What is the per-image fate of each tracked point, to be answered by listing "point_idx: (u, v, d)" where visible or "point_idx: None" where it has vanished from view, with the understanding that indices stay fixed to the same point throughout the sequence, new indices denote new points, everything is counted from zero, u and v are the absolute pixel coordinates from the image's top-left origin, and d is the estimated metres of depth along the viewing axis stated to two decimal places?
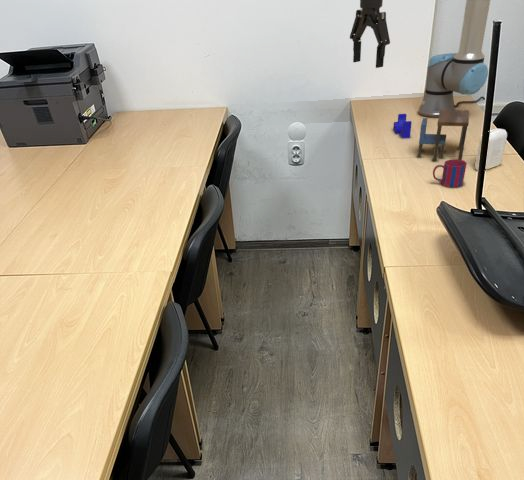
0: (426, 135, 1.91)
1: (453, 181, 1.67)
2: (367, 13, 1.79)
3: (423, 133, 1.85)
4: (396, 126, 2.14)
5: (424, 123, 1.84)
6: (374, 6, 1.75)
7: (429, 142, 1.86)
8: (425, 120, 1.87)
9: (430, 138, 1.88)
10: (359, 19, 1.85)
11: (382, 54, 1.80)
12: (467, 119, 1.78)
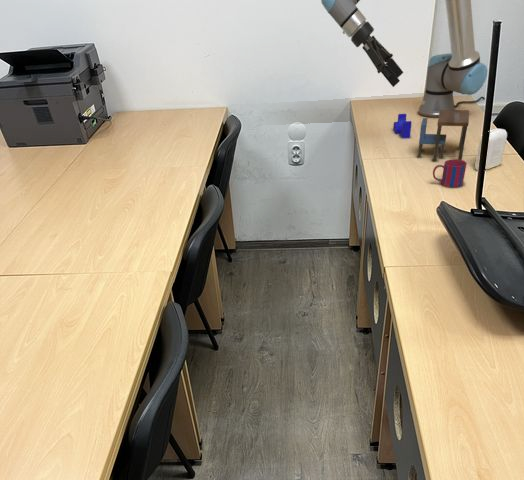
0: (426, 135, 1.91)
1: (453, 181, 1.67)
2: None
3: (423, 133, 1.85)
4: (396, 126, 2.14)
5: (424, 123, 1.84)
6: (360, 42, 1.74)
7: (429, 142, 1.86)
8: (425, 120, 1.87)
9: (430, 138, 1.88)
10: None
11: (387, 75, 1.74)
12: (467, 119, 1.78)
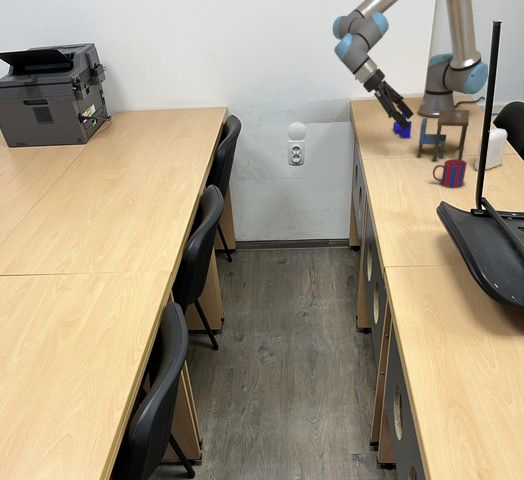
0: (426, 135, 1.91)
1: (453, 181, 1.67)
2: None
3: (423, 133, 1.85)
4: (396, 126, 2.14)
5: (424, 123, 1.84)
6: (371, 88, 1.82)
7: (429, 142, 1.86)
8: (425, 120, 1.87)
9: (430, 138, 1.88)
10: None
11: (398, 120, 1.81)
12: (467, 119, 1.78)
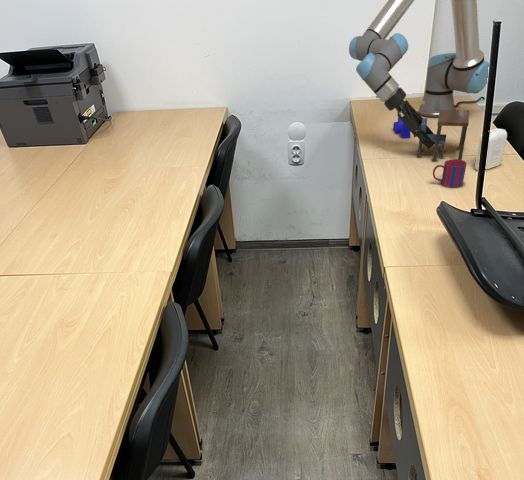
0: None
1: (453, 181, 1.67)
2: None
3: None
4: (396, 126, 2.14)
5: (424, 123, 1.84)
6: (393, 107, 1.83)
7: None
8: (425, 120, 1.87)
9: (430, 138, 1.88)
10: None
11: (423, 139, 1.85)
12: (467, 119, 1.78)
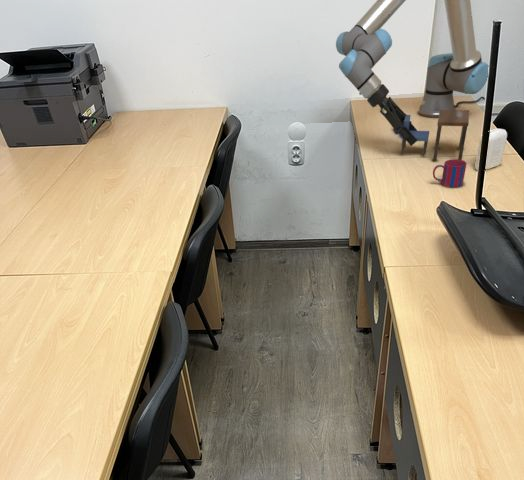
0: None
1: (453, 181, 1.67)
2: None
3: None
4: None
5: (407, 120, 1.85)
6: (376, 103, 1.84)
7: None
8: (408, 117, 1.88)
9: (413, 135, 1.89)
10: None
11: (405, 136, 1.86)
12: (467, 119, 1.78)
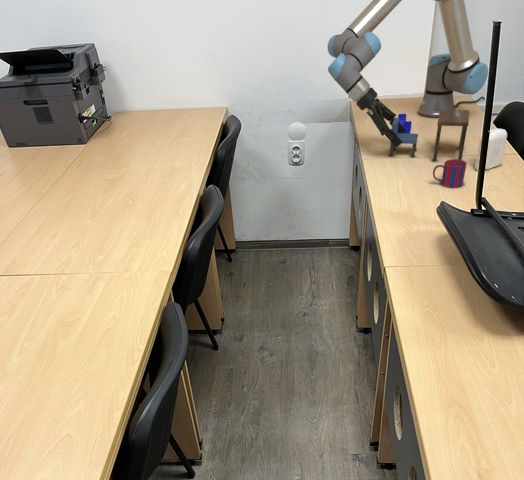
0: (398, 134, 1.94)
1: (453, 181, 1.67)
2: None
3: (394, 132, 1.88)
4: None
5: (395, 122, 1.87)
6: (364, 106, 1.86)
7: None
8: (396, 119, 1.90)
9: (402, 137, 1.91)
10: None
11: (390, 138, 1.85)
12: (467, 119, 1.78)
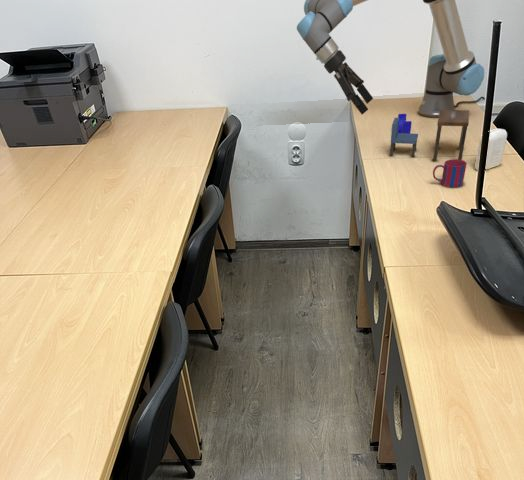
0: (398, 134, 1.94)
1: (453, 181, 1.67)
2: None
3: (394, 132, 1.88)
4: None
5: (395, 122, 1.87)
6: (332, 69, 1.82)
7: (400, 141, 1.89)
8: (396, 119, 1.90)
9: (402, 137, 1.91)
10: None
11: (356, 104, 1.83)
12: (467, 119, 1.78)
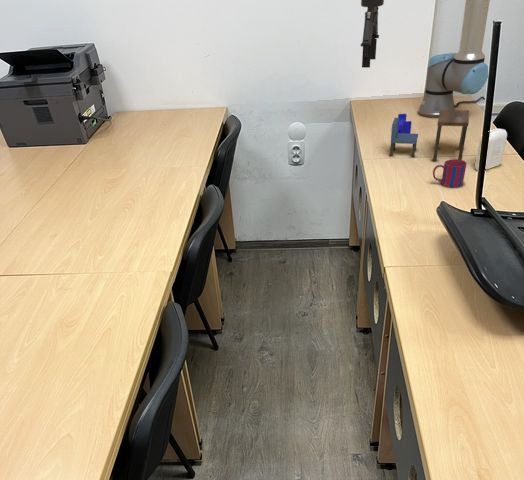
0: (398, 134, 1.94)
1: (453, 181, 1.67)
2: None
3: (394, 132, 1.88)
4: None
5: (395, 122, 1.87)
6: (367, 4, 1.74)
7: (400, 141, 1.89)
8: (396, 119, 1.90)
9: (402, 137, 1.91)
10: None
11: (365, 54, 1.79)
12: (467, 119, 1.78)
